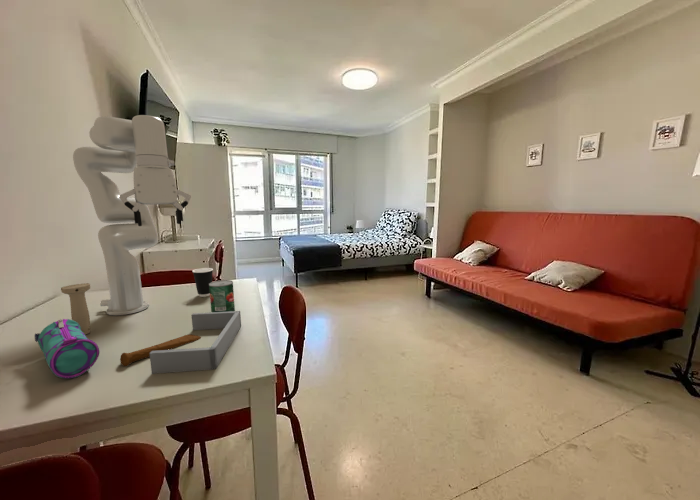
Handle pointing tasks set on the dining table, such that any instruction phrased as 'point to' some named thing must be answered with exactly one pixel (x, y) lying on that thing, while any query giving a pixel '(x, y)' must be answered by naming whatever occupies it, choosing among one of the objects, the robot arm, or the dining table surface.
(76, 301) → the handle
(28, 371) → the dining table surface
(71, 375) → the pencil case
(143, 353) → the primitive tool
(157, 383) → the dining table surface
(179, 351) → the box
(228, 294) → the canned tomato
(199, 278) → the dixie cup
